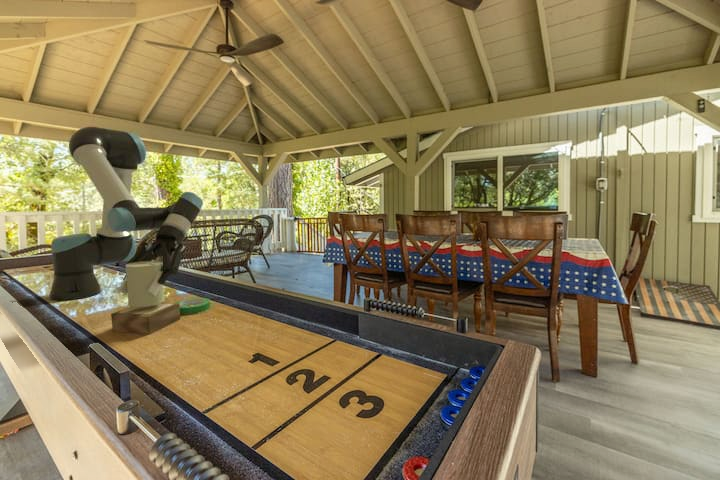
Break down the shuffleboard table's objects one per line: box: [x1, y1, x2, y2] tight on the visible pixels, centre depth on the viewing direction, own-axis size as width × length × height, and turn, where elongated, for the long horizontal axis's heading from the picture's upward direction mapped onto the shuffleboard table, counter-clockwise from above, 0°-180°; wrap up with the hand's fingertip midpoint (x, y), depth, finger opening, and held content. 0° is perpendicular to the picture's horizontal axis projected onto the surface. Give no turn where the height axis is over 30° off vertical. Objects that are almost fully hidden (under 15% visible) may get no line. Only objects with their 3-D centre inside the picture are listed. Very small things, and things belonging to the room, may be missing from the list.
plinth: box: [110, 302, 181, 335], centre depth 100 cm, size 12×12×5 cm
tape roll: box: [175, 297, 211, 315], centre depth 115 cm, size 11×11×3 cm
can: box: [124, 260, 166, 307], centre depth 98 cm, size 9×9×12 cm
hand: (136, 292), depth 96 cm, fingers closed on can, 9 cm apart
